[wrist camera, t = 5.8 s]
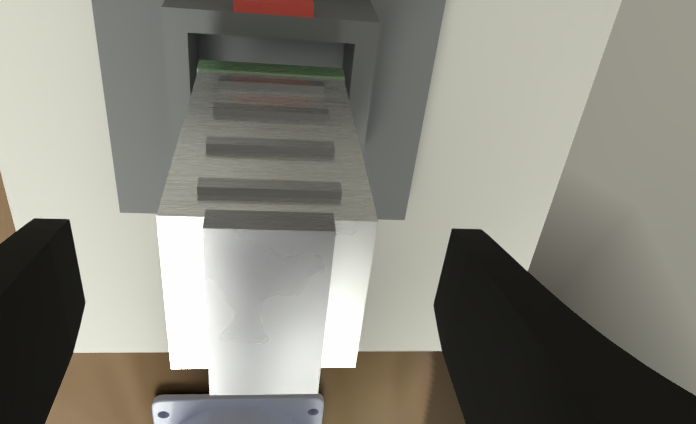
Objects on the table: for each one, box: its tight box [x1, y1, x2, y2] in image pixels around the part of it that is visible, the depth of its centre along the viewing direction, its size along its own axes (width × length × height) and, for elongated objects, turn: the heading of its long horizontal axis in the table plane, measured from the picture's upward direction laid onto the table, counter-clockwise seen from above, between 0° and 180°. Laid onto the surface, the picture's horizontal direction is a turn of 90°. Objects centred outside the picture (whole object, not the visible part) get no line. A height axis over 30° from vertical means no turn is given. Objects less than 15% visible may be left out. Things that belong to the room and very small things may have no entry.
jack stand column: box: [156, 59, 378, 395], centre depth 13 cm, size 4×4×7 cm
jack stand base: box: [0, 0, 622, 353], centre depth 18 cm, size 26×20×4 cm
